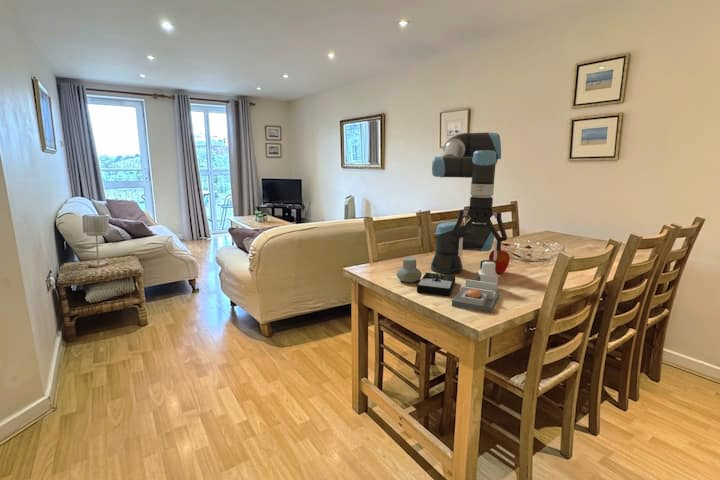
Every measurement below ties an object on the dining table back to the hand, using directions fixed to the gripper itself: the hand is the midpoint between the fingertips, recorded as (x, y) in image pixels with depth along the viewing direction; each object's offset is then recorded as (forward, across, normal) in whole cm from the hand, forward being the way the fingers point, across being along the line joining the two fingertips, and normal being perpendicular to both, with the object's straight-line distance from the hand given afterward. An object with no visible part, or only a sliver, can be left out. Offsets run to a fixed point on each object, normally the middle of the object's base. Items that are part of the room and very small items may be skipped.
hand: (477, 257), depth 134 cm
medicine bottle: (+18, +1, +22) cm, 28 cm away
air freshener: (+18, -31, +16) cm, 40 cm away
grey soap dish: (+18, 0, +5) cm, 19 cm away
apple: (+18, +2, +48) cm, 52 cm away
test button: (+15, 0, 0) cm, 15 cm away
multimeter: (+19, -18, +14) cm, 29 cm away
